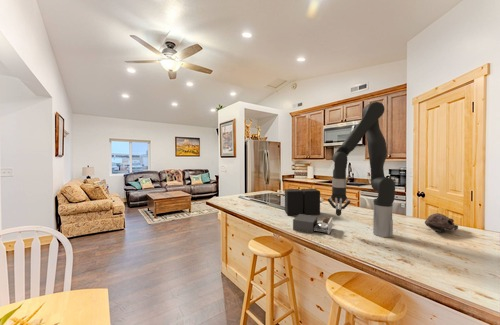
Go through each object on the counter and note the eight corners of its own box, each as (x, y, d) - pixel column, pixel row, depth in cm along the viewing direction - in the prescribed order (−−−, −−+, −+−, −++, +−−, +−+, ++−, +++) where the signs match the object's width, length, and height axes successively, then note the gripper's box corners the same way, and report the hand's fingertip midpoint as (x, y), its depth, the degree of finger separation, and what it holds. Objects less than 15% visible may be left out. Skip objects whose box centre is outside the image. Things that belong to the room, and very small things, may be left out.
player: (317, 226, 140) (317, 216, 139) (312, 233, 127) (312, 222, 127) (299, 223, 145) (299, 213, 145) (293, 229, 133) (293, 219, 133)
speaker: (315, 211, 175) (315, 188, 174) (320, 215, 164) (320, 190, 164) (284, 212, 174) (284, 189, 174) (287, 215, 164) (287, 191, 163)
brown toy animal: (444, 239, 116) (445, 221, 115) (417, 232, 126) (418, 215, 126) (461, 230, 129) (461, 214, 128) (435, 225, 139) (435, 209, 139)
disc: (328, 227, 132) (328, 223, 132) (327, 230, 127) (327, 226, 127) (318, 225, 135) (318, 221, 135) (316, 228, 130) (316, 224, 130)
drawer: (332, 227, 135) (332, 217, 135) (329, 234, 123) (329, 223, 123) (317, 225, 139) (317, 215, 139) (313, 231, 128) (313, 221, 127)
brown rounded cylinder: (329, 223, 145) (329, 217, 145) (328, 224, 142) (328, 219, 142) (323, 222, 147) (323, 217, 147) (322, 223, 144) (322, 218, 143)
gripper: (326, 186, 126) (325, 215, 126) (351, 187, 120) (350, 218, 120) (328, 184, 132) (327, 212, 133) (351, 186, 126) (351, 215, 127)
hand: (338, 215), depth 127 cm, fingers closed
